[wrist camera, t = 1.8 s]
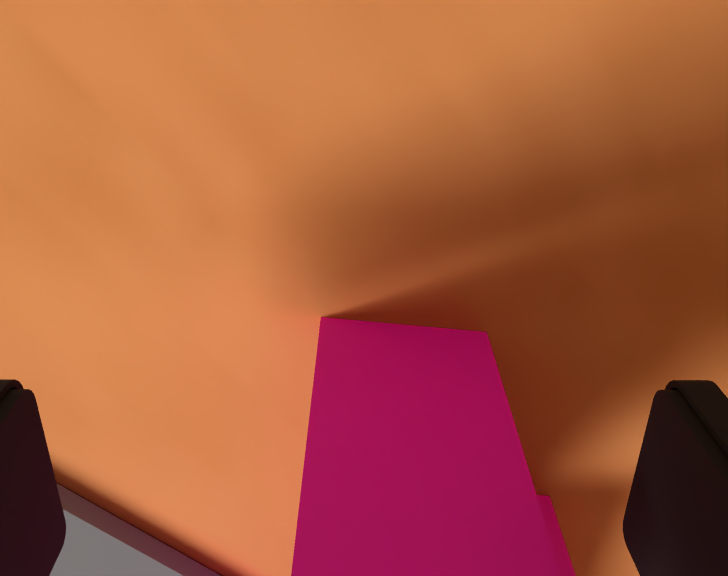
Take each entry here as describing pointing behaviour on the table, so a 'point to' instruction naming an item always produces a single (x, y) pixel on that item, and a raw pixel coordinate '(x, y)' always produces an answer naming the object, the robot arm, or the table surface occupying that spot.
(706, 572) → the robot arm
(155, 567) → the felt pad
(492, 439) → the toy block
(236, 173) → the table surface
